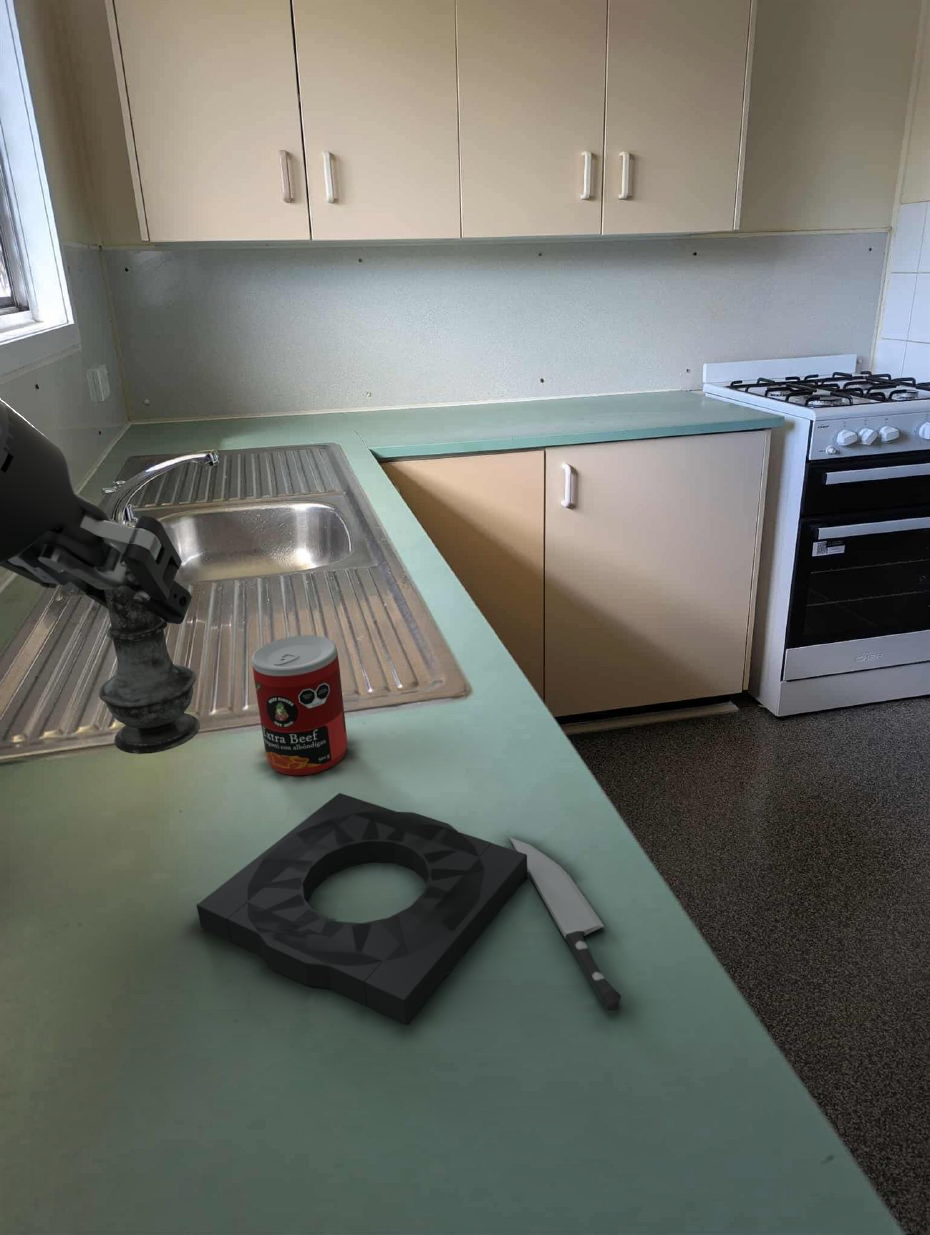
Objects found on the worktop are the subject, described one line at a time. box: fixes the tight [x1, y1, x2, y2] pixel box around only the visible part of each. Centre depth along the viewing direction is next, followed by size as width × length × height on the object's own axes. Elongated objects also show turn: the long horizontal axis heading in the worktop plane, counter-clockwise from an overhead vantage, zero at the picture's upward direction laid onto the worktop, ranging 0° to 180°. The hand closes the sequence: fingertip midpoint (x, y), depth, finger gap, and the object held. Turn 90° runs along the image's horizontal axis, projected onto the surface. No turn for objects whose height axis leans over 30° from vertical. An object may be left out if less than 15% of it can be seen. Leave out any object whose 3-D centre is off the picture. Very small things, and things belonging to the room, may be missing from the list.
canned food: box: [251, 634, 348, 776], centre depth 82 cm, size 8×8×11 cm
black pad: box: [196, 792, 529, 1025], centre depth 64 cm, size 18×17×2 cm
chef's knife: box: [509, 836, 622, 1012], centre depth 62 cm, size 19×1×3 cm
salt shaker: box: [98, 568, 201, 755], centre depth 54 cm, size 6×6×12 cm
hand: (158, 606), depth 55 cm, fingers closed on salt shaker, 3 cm apart
